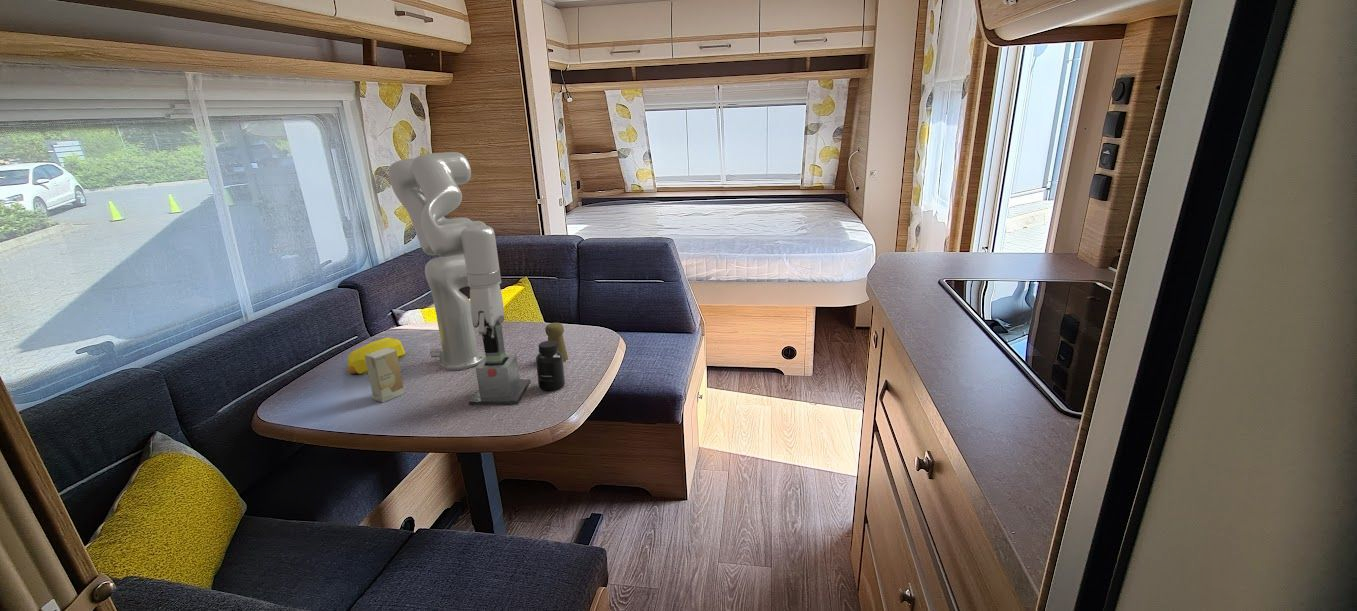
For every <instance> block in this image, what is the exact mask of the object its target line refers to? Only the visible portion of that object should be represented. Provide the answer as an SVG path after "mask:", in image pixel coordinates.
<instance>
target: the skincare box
mask: <svg viewBox="0 0 1357 611" xmlns="http://www.w3.org/2000/svg"><path fill="white" fill-rule="evenodd" d="M365 359H366V364H367V369H368V373H367V374H368V379H369V384H370V388H371V395H372V398H373V400H375V401H377V402H380V403H386V402H388V401H390V400H392V399H395V398H397V397H399V396H402V395H404V394H405V389H404V384H403V378H402V373H401V369H400V363H399V359H398V356H397V351H396V350H394V349H391V348H385V349H382V350H378V351H375V352H373V353H370V354H367V355H365Z"/></svg>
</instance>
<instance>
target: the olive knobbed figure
mask: <svg viewBox="0 0 1357 611" xmlns="http://www.w3.org/2000/svg"><path fill="white" fill-rule="evenodd" d="M544 330H545V331H544V332H545V334H546V335H547V341H555V342H557V343H558V351H559V352H561V354H562V356H563V363H565V362H567V361H568V360H569V355H568V352H567V347H566V344H565V343H566V342H565V340H564V336H563V334H564V332H565V330H564V326H563V324H562V323H561V322H551V323H548V324H547V325H546V326H545V328H544ZM566 360H567V361H566Z"/></svg>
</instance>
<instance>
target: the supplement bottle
mask: <svg viewBox="0 0 1357 611" xmlns="http://www.w3.org/2000/svg"><path fill="white" fill-rule="evenodd" d="M538 352H539V353H538V354H537V355H536V356H535V364H536V372H537V381H538V387H539V389H540V391H542V392H549V393H550V392H556V391H560V390H561V389H563V388H564V386H565V385H566V379H565V366H564V362H563V356H562V354H561V352H559V351H558V343H557V342H555V341H548V340H545V341H542V342H540V343H538Z"/></svg>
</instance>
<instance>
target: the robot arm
mask: <svg viewBox="0 0 1357 611" xmlns="http://www.w3.org/2000/svg"><path fill="white" fill-rule="evenodd" d="M471 176H472V169H471V164H470V163H469V160H468V159H467V157H466V156H465V155H464V154H462V153H461V152H457V151H449V152H448V151H447V152H432V153H424V154H420V155H418V156H416V157H413V158H405V159H400V160H397V161H394V162H393V163H392V164H390V166H389V168H388V178H389V182H390V186H391V189H392V191H393V192H394V194H395V196H396V198H397V200H398V201H399V203H401V205H402V206H403V208H404V209H405V210H406V212H407V213H408V216H409V218H410V221H411V223H412V226H413V229H414V232H415V234H416V237H417V240H418V242H419V245H420V247H421V248H422V251H423V252H424V254H425V255H428V256H436V257H434V258H432V259H430V260H428V262H426V264H425V267H424V275H425V279H426V281H427V284H428V286H429V289H430V293H431V296H432V300H433V304H434V310H435V315H436V322H437V326H438V327H437V328H438V331H439V336H440V337H439V338H440V342H441V347H440V348H430V350H429V353H430V357H431V358H439V361H438V366H439V367H440V368H441V369H443V370H446V371H460V370H461V371H462V370H466V369H469V368H473V367H477V366H478V365H479V364H480V362H481V361H482V360H483V359H484V358H485V356H486V355H485V353H497V352H498V345H497V338H496V337H495V333H494V325H495V324H496V321H497V320H498V319H499V317H500V316H504V313H505V311H504V300H503V296H502V291H501V290H502V289H501V284H502V277H501V269H500V262H499V255H498V248H497V247H498V246H497V240H496V234H495V231H494V229H493V227H491V226H489V225H487V224H486V223H485V222H484V221H480V220H471V219H470V218H468V217H454V218H446V217H445V216H447V215H448V214H450V213H452V212H453V211H455V210H456V209H457V208H459V206H460V205H461V203H462V200H463V194H462V190H461V189H460V188H459V186H461V185H464V184H467V183H468V182H469V181H470V180H471ZM466 287H469V298H468V296H466V295H465V294H463V292H461V291H460V289H462V288H466ZM486 323H489V325H486ZM476 328H478V334H480V335H481V339H482V342H483V348H484V349H483V350H484V351H481V350H479V348H478V347H479V346H478V338H477V333H476ZM486 328H490V331H489V330H487V329H486ZM501 328H502V329H503V325H502V324H501ZM502 335H503V336H504V334H503V333H502ZM503 342H504V340H503ZM504 343H505V342H504Z"/></svg>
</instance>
